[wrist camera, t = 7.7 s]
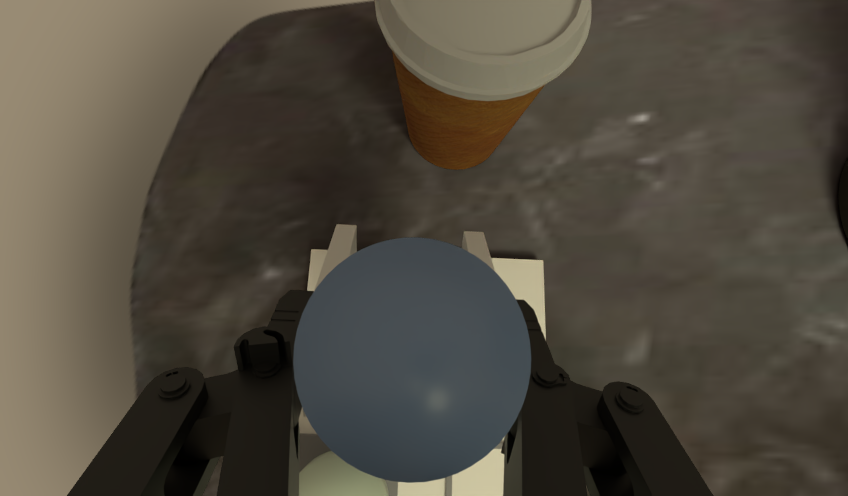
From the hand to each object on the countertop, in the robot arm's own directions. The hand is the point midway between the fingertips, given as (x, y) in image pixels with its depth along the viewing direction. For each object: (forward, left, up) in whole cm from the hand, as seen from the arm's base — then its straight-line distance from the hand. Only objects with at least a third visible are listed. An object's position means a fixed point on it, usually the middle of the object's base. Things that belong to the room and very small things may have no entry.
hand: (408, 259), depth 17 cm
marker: (0, +4, -3) cm, 5 cm away
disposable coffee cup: (-3, -11, -10) cm, 15 cm away
